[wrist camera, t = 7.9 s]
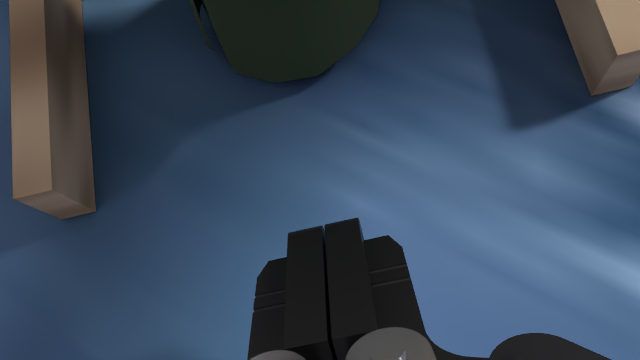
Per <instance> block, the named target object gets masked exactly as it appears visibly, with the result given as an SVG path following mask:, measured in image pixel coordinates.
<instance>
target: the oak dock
mask: <svg viewBox="0 0 640 360" xmlns="http://www.w3.org/2000/svg"><path fill="white" fill-rule="evenodd" d="M555 2H556V4H557V7H558V10H559V12H560V15H561V18H562V20H563V23H564V26H565V28H566V31H567V33H568V36H569V39H570V41H571V44H572V47H573V49H574V52H575V55H576V57H577V60H578V63H579V65H580V68H581V71H582V73H583V76H584V78H585V81H586V84H587V86H588V89H589V92H590V94H591V96H593V95H598V94H602V93H606V92H610V91H615V90H619V89H623V88H628V87H631V86H632V85H633V84H634V82H635V81H636V80H637V79H638V77H639V76H640V0H555ZM9 26H10V75H11V124H12V173H13V199H14V200H16V201H19V202H21V203H23V204H26V205H28V206H31V207H33V208H35V209H38V210H40V211H42V212H45V213H47V214H50V215H52V216H54V217H57V218H59V219H61V220H62V219H66V218H70V217H75V216H79V215H83V214H87V213H92V212H96V204H95V189H94V175H93V160H92V145H91V131H90V116H89V101H88V87H87V72H86V57H85V42H84V28H83V13H82V0H9Z"/></svg>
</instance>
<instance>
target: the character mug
mask: <svg viewBox="0 0 640 360" xmlns="http://www.w3.org/2000/svg"><path fill="white" fill-rule="evenodd" d="M379 1H380V0H189V2H190V5H191V8H192V11H193V13H194V16H195V18H196V20H197V22H198V25H199V27H200V29H201V31H202V34H203V36H204V38H205V41H206V43H207V45H208V46H209V47H210V48H211V49H212V50H213V48H212V45H211V43H210V41H209V38H208V36H207V34H206V32H205V29H204V27H203V25H202V22H201V18H200V15H199V13H200V8H201V3H202V4H203V6H204V8H205V10H206V12H207V14H208V16H209V18H210V20H211V23H212V25H213V28H214V30H215V33H216V35H217V37H218V39H219V42H220V44H221V46H222V48H223V50H224V53H225V55H226V57H227V59H228V61H229V64H230V66H231V67H232V68H233V69H234V70H235V71H236V72H237V73H238V74H241V75H245V76H249V77H253V78H257V79H261V80H265V81H270V82H274V83H278V82H284V81H290V80H296V79H302V78H307V77H313V76H318V75H320V74H321V73H322V72H324V71H325V70H326V69H328V68H329V67H330V66H332V65H333V64H335V63H336V62H337V61H339V60H340V59H341V58H343V57H344V56H345V55H347V54H348V53H349V52H351V51H352V50H353V49H355V47H356V46H357V44H358V43H359V41H360V40H361V38H362V37H363V35H364V34H365V32H366V31H367V29H368V28H369V26H370V25H371V24H372V22H373V21H374V19H375V18H376V16H377V15H378V9H379ZM213 51H214V50H213Z"/></svg>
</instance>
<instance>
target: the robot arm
mask: <svg viewBox="0 0 640 360" xmlns="http://www.w3.org/2000/svg"><path fill="white" fill-rule="evenodd" d="M255 296H256V298H255V300H254V313H253V317H252V326H251V334H250V342H249V351H248V359H247V360H611V359H609V358H606V357H604V356H602V355H600V354H597V353H595V352H593V351H591V350H588V349H586V348H584V347H582V346H579V345H577V344H575V343H573V342H570V341H568V340H566V339H563V338H561V337H558V336H554V335H550V334H544V333H528V334H521V335H517V336H514V337H511V338H509V339H507V340H505V341H503V342H502V343H501V344H499V345H498V346H497V347H496V348H495V349H494V350H493V352H492V353H491V355H490V357H489V358H478V357H466V356H460V355H456V354H452V353H450V352H447V351H445V350H443V349H441V348H440V347H438V346H437V345H435V344H434V343H433V342H432V341H431V340H430V338H429V337H428V335H427V334H426V331H425V329H424V325H423V321H422V318H421V314H420V310H419V307H418V303H417V300H416V296H415V292H414V289H413V285H412V281H411V278H410V274H409V271H408V267H407V263H406V260H405V256H404V252H403V249H402V246H400V245H399V244H398V243H397V242H396V241H394V240H393V239H392V238H391V237H390V236H388V235H387V236H382V237H378V238H373V239H368V240H364V237H363V233H362V229H361V225H360V221H359V218H354V219H349V220H344V221H340V222H335V223H331V224H326V225H325V230H324V228H323V226H317V227H313V228H308V229H304V230H299V231H295V232H290V233H288V247H287V257H285V258H281V259H276V260H271V261H268V263H267V264H266V266H265V267H264V269H263V270H262V272H261V273H260V274H259V276H258V277H257V284H256V292H255Z"/></svg>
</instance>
